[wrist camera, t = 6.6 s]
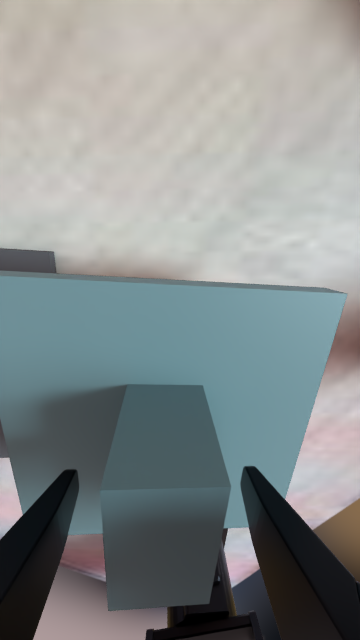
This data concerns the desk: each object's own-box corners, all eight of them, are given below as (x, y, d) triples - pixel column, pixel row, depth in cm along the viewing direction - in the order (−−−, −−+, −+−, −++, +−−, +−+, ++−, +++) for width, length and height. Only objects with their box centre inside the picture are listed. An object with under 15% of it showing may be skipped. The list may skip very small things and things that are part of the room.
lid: (267, 502, 13) (327, 651, 8) (40, 509, 12) (-42, 687, 7) (324, 287, 9) (506, 335, 4) (-7, 270, 8) (-264, 307, 3)
